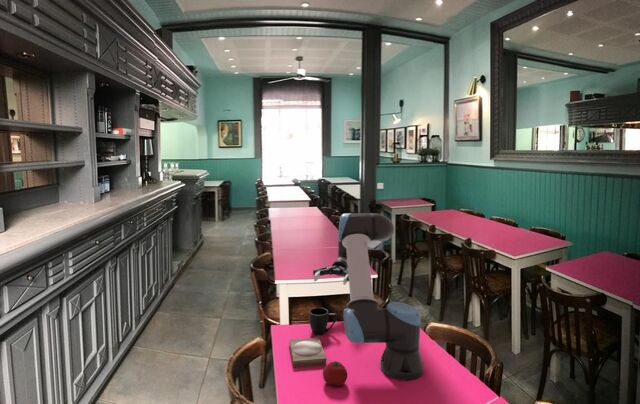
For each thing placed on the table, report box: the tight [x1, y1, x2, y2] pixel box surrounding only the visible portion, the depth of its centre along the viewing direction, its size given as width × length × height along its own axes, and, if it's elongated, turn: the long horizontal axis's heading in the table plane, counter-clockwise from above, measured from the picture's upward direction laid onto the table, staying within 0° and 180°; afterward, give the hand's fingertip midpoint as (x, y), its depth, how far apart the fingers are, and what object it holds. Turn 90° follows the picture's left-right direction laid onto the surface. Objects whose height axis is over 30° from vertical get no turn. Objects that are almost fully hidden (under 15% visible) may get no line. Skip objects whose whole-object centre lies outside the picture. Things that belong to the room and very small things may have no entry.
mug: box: [308, 307, 338, 336], centre depth 166 cm, size 8×12×10 cm
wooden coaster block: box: [289, 337, 327, 368], centre depth 149 cm, size 16×12×3 cm
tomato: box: [322, 360, 348, 387], centre depth 130 cm, size 8×8×7 cm
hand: (329, 280), depth 174 cm, fingers open, 13 cm apart
